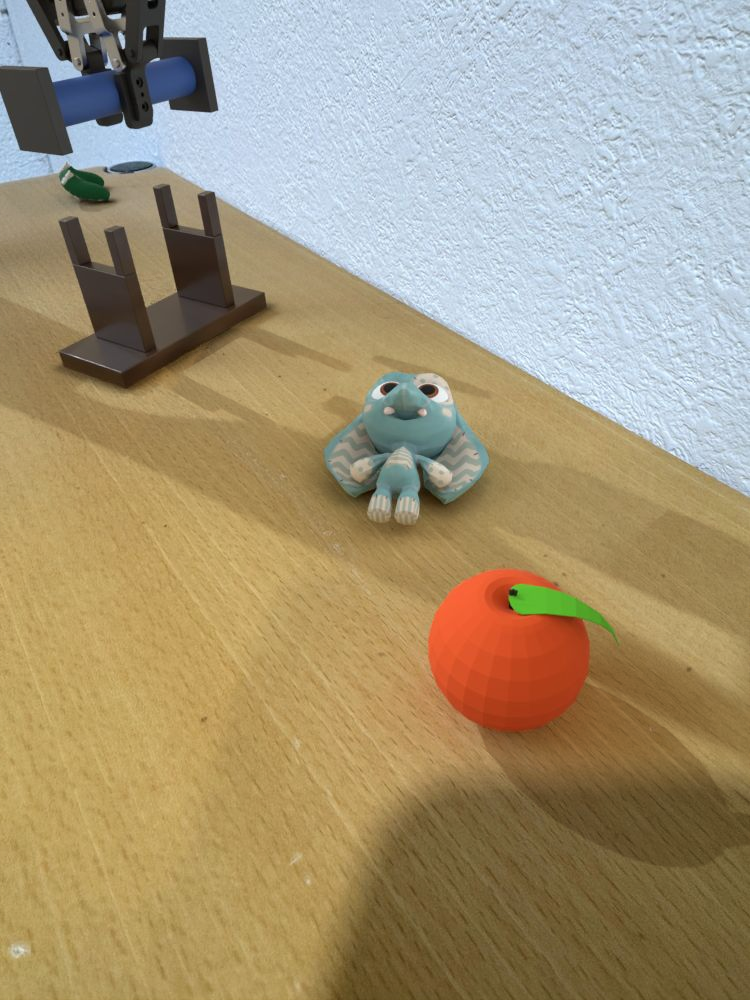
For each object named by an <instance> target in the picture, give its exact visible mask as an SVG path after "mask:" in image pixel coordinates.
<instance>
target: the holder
mask: <svg viewBox="0 0 750 1000" xmlns="http://www.w3.org/2000/svg"><path fill="white" fill-rule="evenodd" d="M152 190H153V194H154V199H155V202H156V208H157V211H158V216H159V220H160V224H161V229H162V233H163V238H164V242H165V245H166V246H165V247H166V250H167V254H168V259H169V263H170V268H171V271H172V277H173V280H174V285H175V288H176V292H174V293H172V294H170V295H168V296H166V297H164V298H162V299H160V300H158V301H156V302H154V303H152V304H149V305H148V306H146V303H145V300H144V296H143V292H142V289H141V286H140V285H141V284H140V281H139V277H138V273H137V270H136V265H135V263H134V262H135V261H134V259H133V258H134V257H133V255H132V251H131V247H130V243H129V241H128V239H129V238H128V236H127V232H126V229H125V226H121V225H116V224H115V225H112V226H110V227H107V228H105V229H103V232H104V237H105V238H106V243H107V246H108V250H109V253H110V257H111V260H112V265H113V266H112V265H108V264H104V263H100V262H96V261H92V258H91V255H90V252H89V248H88V245H87V242H86V239H85V235H84V232H83V229H82V226H81V222H80V219H79V217H77V216H73V215H69V216H65V217H63V218H60V219H58V224H59V225H58V226H59V228H60V230H61V231H60V232H61V233H62V237H63V240H64V243H65V246H66V250H67V253H68V255H69V258H70V262H71V264H72V267H73V270H74V273H75V276H76V277H75V278H76V280H77V283H78V286H79V289H80V292H81V295H82V298H83V301H84V304H85V307H86V310H87V313H88V317H89V319H90V323H91V325H92V329H93V333H92V334H89V335H88V336H86V337H83V338H81V339H79V340H78V341H76V342H74V343H72V344H70V345H68V346H66V347H63V348H61V349H60V350H58V354H59V357H60V359H61V363H62V366H63V367H64V368H67V369H70V370H73V371H76V372H79V373H81V374H84V375H87V376H90V377H93V378H96V379H98V380H101V381H103V382H107V383H110V384H113V385H115V386H118V387H120V388H124V389H128V388H130V387H131V386H133V385H134V384H136V383H138V382H140V381H141V380H143V379H145V378H147V377H148V376H151V375H152V374H154V373H156V372H157V371H159V370H160V369H162V368H164V367H166V366H167V365H169V364H171V363H172V362H174V361H176V360H177V359H180V358H181V357H183V356H184V355H186V354H188V353H190V352H191V351H193V350H195V349H196V348H199V347H200V346H202V345H204V344H205V343H207V342H208V341H209V342H210V340H212V339H214V338H216V337H217V336H219V335H221V334H222V333H224V332H226V331H228V330H229V329H231V328H233V327H234V326H236V325H238V324H240V323H241V322H242V321H243V322H244V321H245V320H246V319H249V318H250V317H251V316H253V315H255V314H257V313H258V312H260V311H262V310H264V309H265V308H267V306H268V305H267V297H266V294H265V293H266V292H264V291H260V290H257V289H252V288H248V287H244V286H239V285H235V284H232V279H231V275H230V269H229V263H228V257H227V252H226V247H225V241H224V236H223V235H224V234H223V230H222V225H221V220H220V212H219V209H218V203H217V197H216V192H215V191H212V190H204V191H201V192H200V193H197V201H198V206H199V211H200V216H201V221H202V226H203V229H200V228H196V227H190V226H185V225H180V224H179V220H178V216H177V215H178V214H177V210H176V207H175V202H174V198H173V193H172V189H171V185H170V184H167V183H160V184H157V185H154V186H152Z"/></svg>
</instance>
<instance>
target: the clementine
mask: <svg viewBox="0 0 750 1000" xmlns="http://www.w3.org/2000/svg"><path fill="white" fill-rule="evenodd" d="M584 621H588V622H590V623H593V624H595V625H599V626H601V627H602V628H604V629H605V630H607V632H609V633H611V634H612V637H613V639H614V640H615V643H616V645H617V646H618V647H620V644H619V641H618V639H617V636H616V633H615V631H614V628H613V626H612V625H611V624H610V623H609V622H608V621H607V619H606V618H605V617H604V616H603V615H602V614H601V613H600V612H599V611H597V610H596V609H594V608H593V607H591V606H590V605H588V604H586V603H585V602H583V601H581V600H580V599H579V598H577V597H574V596H572V595H570V594H567V593H564V592H563V591H562V590H561V589H560V588H559V587H558V586H557V585H556V584H554V583H553V582H551V581H550V580H548V579H546V578H544V577H543V576H541V575H539V574H535V573H533V572H530V571H528V570H521V569H516V568H496V569H491V570H486V571H483V572H480V573H477V574H476V575H474V576H471V577H468V578H467V579H464V580H463V581H461V582H460V583H459V584H458V585H456V586H455V587H454V588H452V589H451V590H450V591H449V593H448V595H447V596H446V597H445V599H444V600H443V601H442V603H441V604H440V606H439V607H438V608H437V610H436V611H435V612H434V616H433V619H432V622H431V626H430V629H429V635H428V639H427V650H428V661H429V666H430V671H431V673H432V675H433V678H434V681H435V683H436V686H437V688H438V689H439V690H440V692H441V694H442V695H443V696H444V697H445V699H446V700H447V702H448V703H449V704H450V705H451V707H452V708H453V709H454V710H456V711H457V712H458V713H459V714H461V715H462V716H463V717H464V718H465V719H466V720H469V721H471V722H473V723H474V724H476V725H479V726H481V727H483V728H486V729H489V730H495V731H499V732H506V733H507V732H509V733H510V732H511V733H514V732H515V733H517V732H518V733H519V732H521V733H522V732H526V731H531V730H534V729H535V730H536V729H538V728H541V727H543V726H545V725H547V724H548V723H550V722H552V721H554V720H556V719H557V718H559V717H561V716H562V715H563V714H564V713H565V712H566V711H567V710H568V709H569V708H570V707H571V706H572V705H573V703H575V702H576V700H577V698H578V696H579V694H580V692H581V690H582V688H583V686H584V684H585V681H586V679H587V677H588V675H589V669H590V655H591V654H590V653H591V652H590V650H591V642H590V638H589V635H588V634H589V633H588V630H587V627H586V624H585V622H584Z"/></svg>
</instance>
